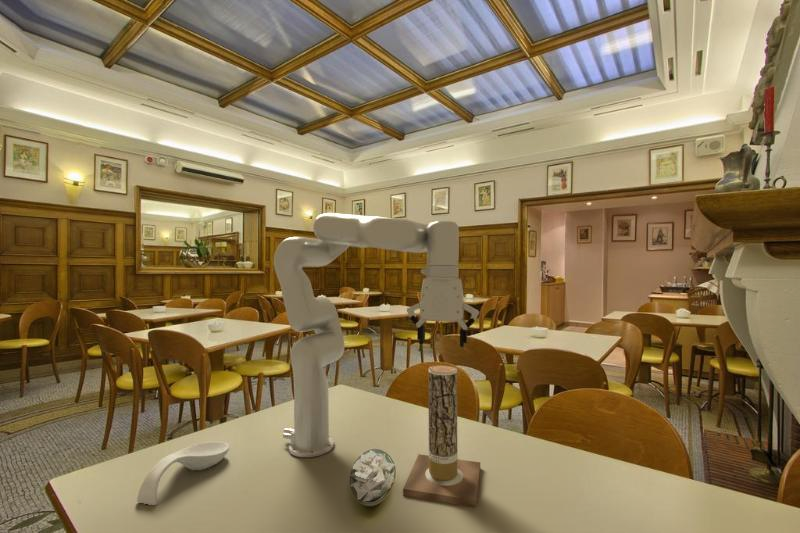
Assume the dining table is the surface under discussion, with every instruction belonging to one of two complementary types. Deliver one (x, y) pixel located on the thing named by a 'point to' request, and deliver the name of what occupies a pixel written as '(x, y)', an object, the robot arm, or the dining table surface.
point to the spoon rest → (189, 457)
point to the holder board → (444, 483)
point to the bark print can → (442, 422)
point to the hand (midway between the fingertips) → (441, 344)
